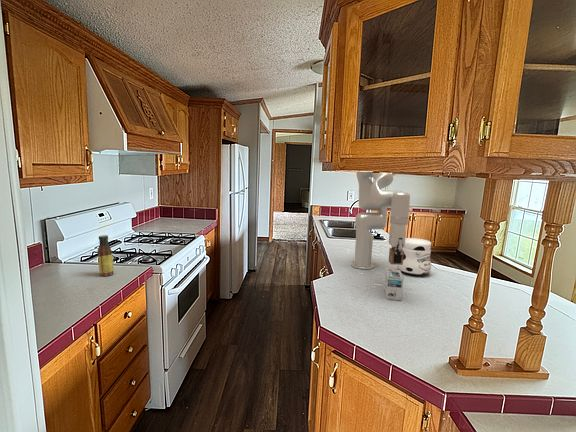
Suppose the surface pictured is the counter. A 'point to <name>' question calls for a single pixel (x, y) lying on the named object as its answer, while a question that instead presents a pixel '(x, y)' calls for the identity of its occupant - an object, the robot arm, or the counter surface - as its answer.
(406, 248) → the milk container
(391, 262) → the walnut block
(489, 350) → the counter surface
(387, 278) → the light bulb box
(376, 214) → the robot arm
